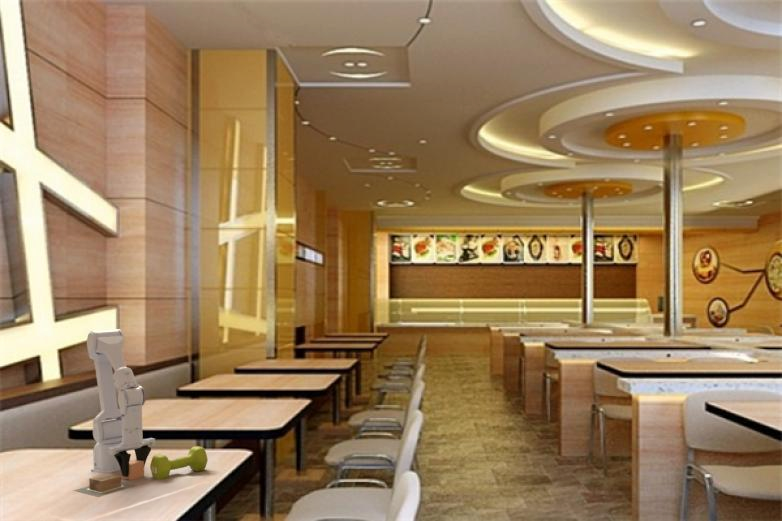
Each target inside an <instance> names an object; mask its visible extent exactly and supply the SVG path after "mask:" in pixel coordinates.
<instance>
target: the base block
mask: <svg viewBox="0 0 782 521" xmlns="http://www.w3.org/2000/svg"><path fill="white" fill-rule="evenodd" d="M88 480H89V482H88V483H89V484H88V486H89V489H91V490H95V491H99V492H104V491H108V490H111V489H115V488H118V487H121V482H122V475H118V474H114V473H111V472H110V473H105V474H101V475H97V476H93V477H89V479H88Z"/></svg>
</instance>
